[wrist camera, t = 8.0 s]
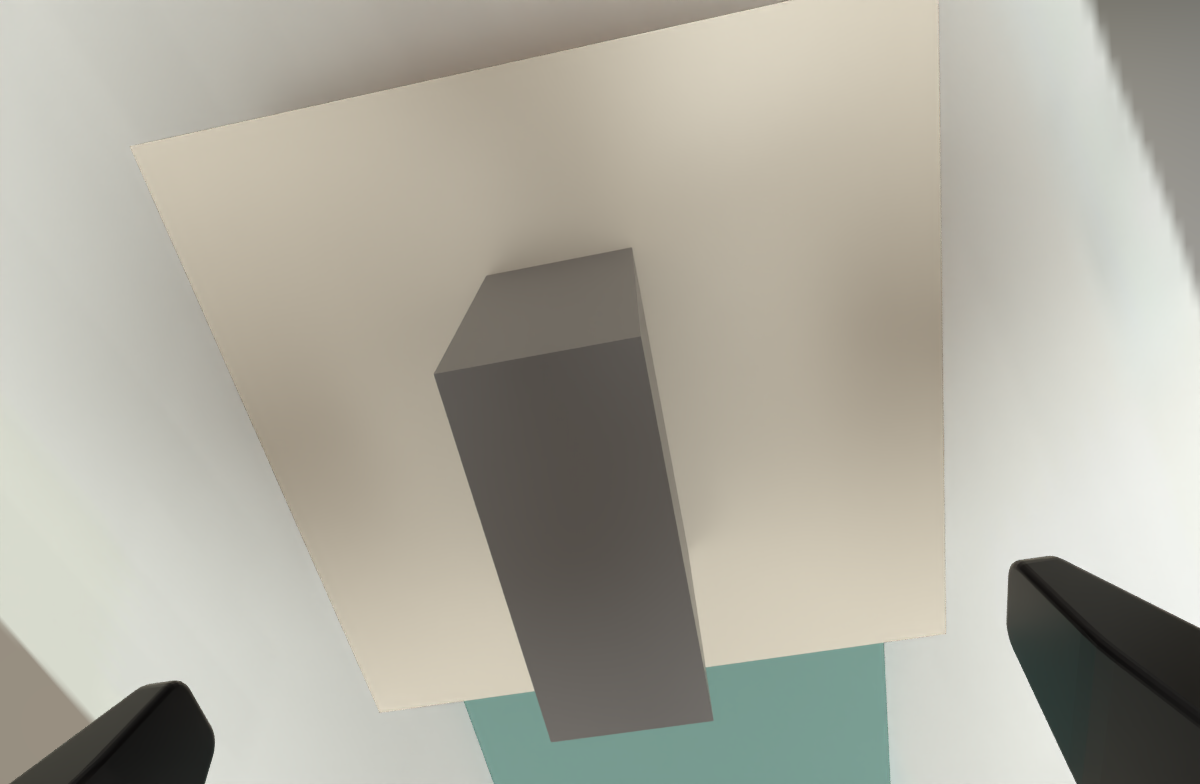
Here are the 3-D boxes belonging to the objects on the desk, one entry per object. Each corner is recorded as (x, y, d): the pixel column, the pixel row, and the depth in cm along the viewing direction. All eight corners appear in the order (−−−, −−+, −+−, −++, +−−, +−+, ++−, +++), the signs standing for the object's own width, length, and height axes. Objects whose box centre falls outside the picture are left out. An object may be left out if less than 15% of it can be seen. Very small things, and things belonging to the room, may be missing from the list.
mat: (888, 826, 25) (893, 837, 24) (529, 866, 26) (528, 878, 25) (873, 523, 20) (878, 532, 19) (429, 589, 21) (426, 599, 20)
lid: (934, 613, 16) (1050, 818, 12) (387, 691, 17) (314, 903, 13) (921, -29, 11) (1114, -73, 7) (151, 141, 12) (-93, 194, 8)
